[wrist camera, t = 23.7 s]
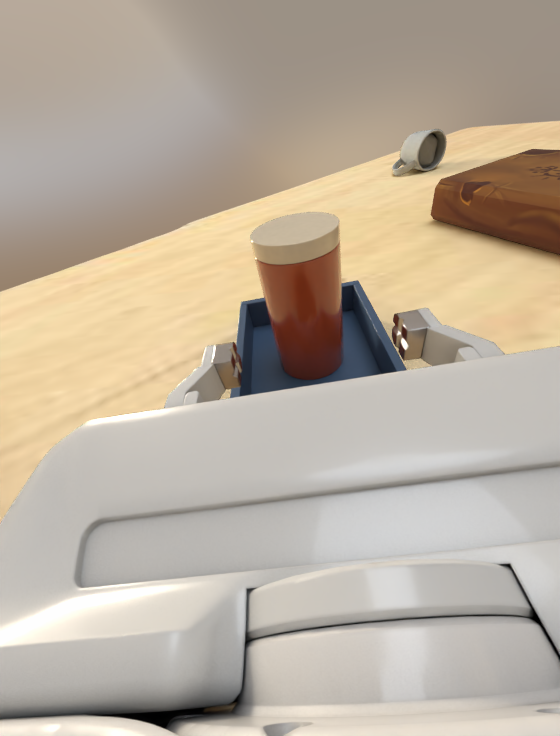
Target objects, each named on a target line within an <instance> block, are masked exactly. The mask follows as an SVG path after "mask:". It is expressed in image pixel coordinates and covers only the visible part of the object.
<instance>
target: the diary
mask: <svg viewBox="0 0 560 736" xmlns="http://www.w3.org/2000/svg"><path fill="white" fill-rule="evenodd" d="M431 216H432V217H433V219H435V220H438V221H442V222H446V223H449V224H453V225H456V226H460V227H463V228H467V229H470V230H474V231H478V232H481V233H485V234H488V235H492V236H495V237H499V238H502V239H506V240H510V241H513V242H517V243H520V244H524V245H527V246H531V247H534V248H538V249H542V250H545V251H549V252H552V253H556V254H559V255H560V150H542V149H531V150H528V151H525V152H522V153H519V154H516V155H513V156H510V157H507V158H504V159H501V160H498V161H495V162H492V163H489V164H486V165H483V166H480V167H477V168H474V169H471V170H468V171H465V172H462V173H459V174H456V175H453V176H450V177H447V178H444V179H441V180H440V182H439V183H438V185H437V186H436V188H435V193H434V199H433V205H432V211H431Z"/></svg>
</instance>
